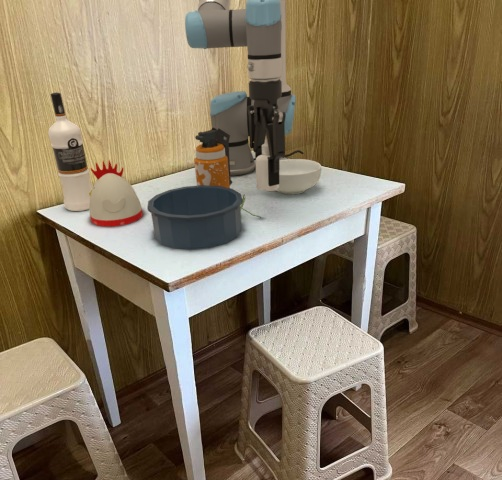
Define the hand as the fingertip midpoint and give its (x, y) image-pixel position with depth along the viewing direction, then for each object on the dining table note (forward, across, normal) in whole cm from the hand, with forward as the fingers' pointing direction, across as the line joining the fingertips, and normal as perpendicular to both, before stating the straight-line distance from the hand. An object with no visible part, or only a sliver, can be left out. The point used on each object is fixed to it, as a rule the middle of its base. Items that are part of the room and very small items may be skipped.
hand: (267, 181), depth 130 cm
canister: (+10, -18, -6) cm, 21 cm away
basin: (+10, -3, -19) cm, 21 cm away
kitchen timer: (+10, -25, -33) cm, 43 cm away
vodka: (+10, -40, -39) cm, 56 cm away
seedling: (+9, -1, -2) cm, 10 cm away
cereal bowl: (+10, -15, +17) cm, 25 cm away
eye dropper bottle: (+2, 0, 0) cm, 2 cm away
